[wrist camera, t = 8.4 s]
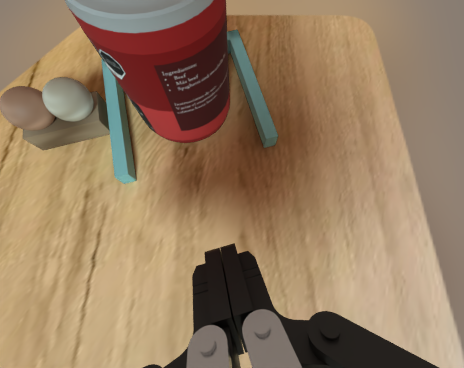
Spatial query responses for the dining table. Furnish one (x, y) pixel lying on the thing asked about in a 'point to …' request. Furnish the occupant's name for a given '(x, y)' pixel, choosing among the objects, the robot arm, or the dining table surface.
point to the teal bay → (120, 123)
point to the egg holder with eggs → (56, 113)
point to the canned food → (165, 59)
